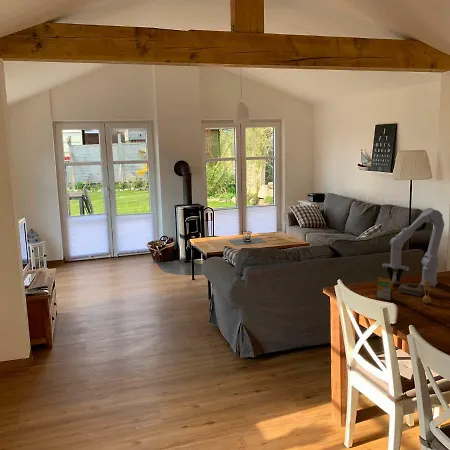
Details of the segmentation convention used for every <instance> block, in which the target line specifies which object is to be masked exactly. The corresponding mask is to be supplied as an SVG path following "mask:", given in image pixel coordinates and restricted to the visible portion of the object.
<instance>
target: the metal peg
mask: <svg viewBox="0 0 450 450" xmlns="http://www.w3.org/2000/svg"><path fill="white" fill-rule="evenodd" d="M397 277H398V275H397V271H393V272H392V281H393V286H398V285H399V282H397Z"/></svg>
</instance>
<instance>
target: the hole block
mask: <svg viewBox="0 0 450 450" xmlns="http://www.w3.org/2000/svg"><path fill="white" fill-rule="evenodd" d="M419 285H420V283H414V282H407V281H404V282H403V283H402V284H400V285H399V286H398V287H397V293H398V292H399V294H402V293H406V294H405V295H408V294H411V296H414V295H416V297H420V296H421V295H422V296H423V294H425V290H424V287H426V286H425V285H420V288H419ZM418 288H419V289H418Z"/></svg>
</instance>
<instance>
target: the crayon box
mask: <svg viewBox="0 0 450 450" xmlns="http://www.w3.org/2000/svg"><path fill="white" fill-rule="evenodd" d="M376 284H377V285H376V286H377V287H376V288H377V289H376V298H378V299H382V298H383V300H388V301H391V300H393V286H394V285H393V281H391V279H390V278H385V277H381V276H380V277H379V276H377V283H376Z"/></svg>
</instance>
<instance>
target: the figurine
mask: <svg viewBox="0 0 450 450" xmlns="http://www.w3.org/2000/svg"><path fill="white" fill-rule="evenodd" d="M421 282H422V281H421ZM421 282H420V283H419V284H420V285H421V284H423V283H425V286H426V287H424V290H425V292H424V296H422V302H423V303H424V304H431V302H432V297H430V295H429V294H430V291H431V289H430V288H431V286H429V283H430V284H433V283H431V282H429V281H428V280H426V281H424V282H422V283H421ZM420 285H419V288H420ZM433 286H434V284H433ZM433 286H432V287H433ZM419 288H418V289H419ZM433 288H434V290H436V289H437V288H436V285H435V286H434V287H433Z"/></svg>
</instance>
